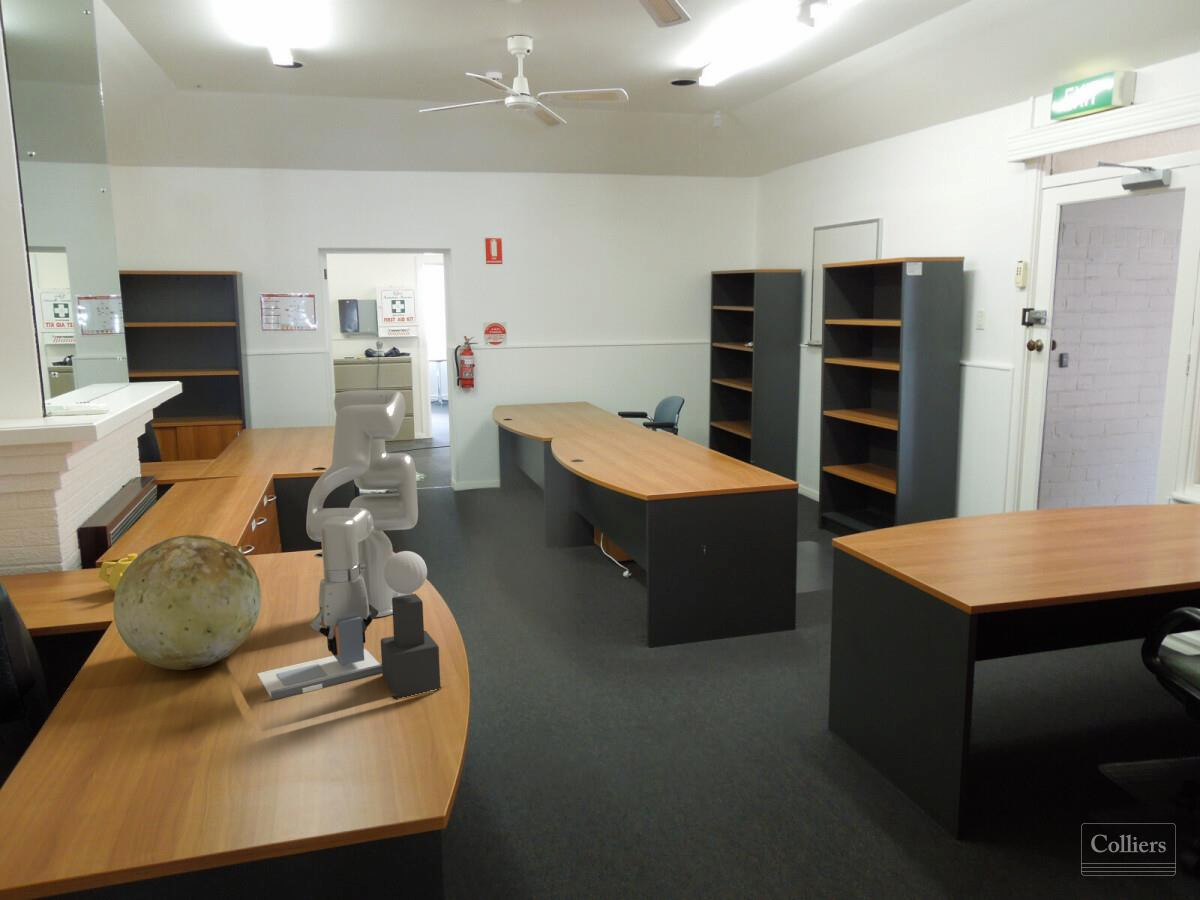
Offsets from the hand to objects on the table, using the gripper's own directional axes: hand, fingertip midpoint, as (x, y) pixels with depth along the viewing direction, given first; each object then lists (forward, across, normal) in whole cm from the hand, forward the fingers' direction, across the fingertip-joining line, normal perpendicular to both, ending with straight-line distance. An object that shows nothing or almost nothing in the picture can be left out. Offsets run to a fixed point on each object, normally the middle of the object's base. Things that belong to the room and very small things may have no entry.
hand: (347, 649), depth 188 cm
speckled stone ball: (+5, +28, -23) cm, 37 cm away
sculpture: (+5, -9, +16) cm, 19 cm away
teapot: (+7, +35, -87) cm, 94 cm away
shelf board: (+5, +6, +1) cm, 8 cm away
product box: (+2, 0, 0) cm, 2 cm away
